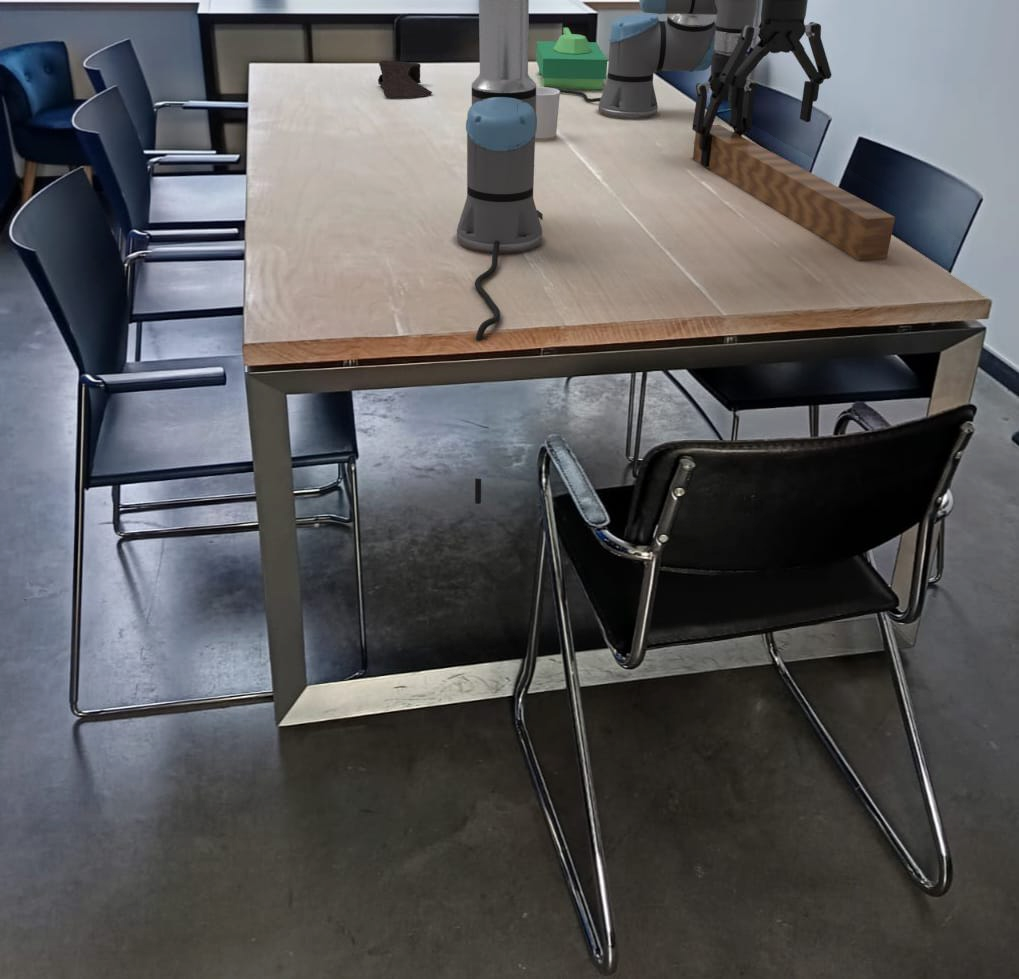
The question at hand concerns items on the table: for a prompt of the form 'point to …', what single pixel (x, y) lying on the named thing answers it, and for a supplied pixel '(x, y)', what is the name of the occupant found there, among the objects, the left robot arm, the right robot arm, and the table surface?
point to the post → (800, 195)
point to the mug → (546, 112)
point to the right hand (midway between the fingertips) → (717, 163)
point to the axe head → (401, 79)
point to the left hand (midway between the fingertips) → (770, 122)
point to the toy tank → (571, 62)
